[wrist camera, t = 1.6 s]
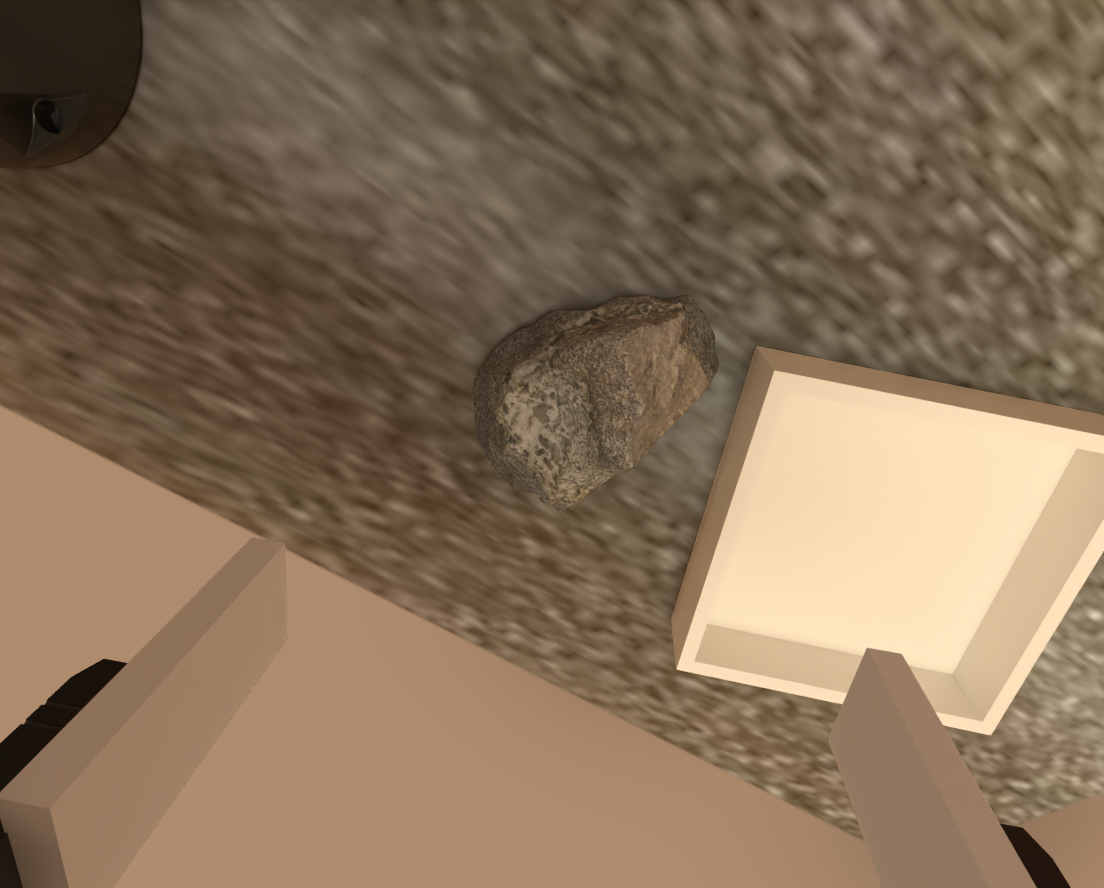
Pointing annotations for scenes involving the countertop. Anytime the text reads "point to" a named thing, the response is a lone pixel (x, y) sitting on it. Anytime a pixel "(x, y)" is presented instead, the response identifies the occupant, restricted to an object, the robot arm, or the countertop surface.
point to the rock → (590, 392)
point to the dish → (890, 535)
